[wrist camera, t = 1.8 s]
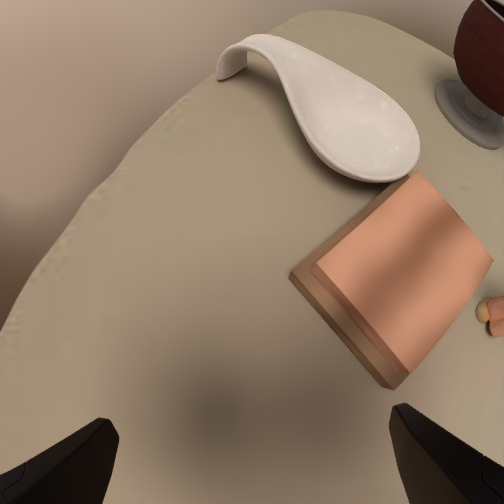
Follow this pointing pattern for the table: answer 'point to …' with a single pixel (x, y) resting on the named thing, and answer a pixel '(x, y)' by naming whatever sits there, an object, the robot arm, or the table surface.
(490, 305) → the grandmother figurine
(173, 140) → the table surface
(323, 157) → the spoon rest
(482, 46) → the mate gourd
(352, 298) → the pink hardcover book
